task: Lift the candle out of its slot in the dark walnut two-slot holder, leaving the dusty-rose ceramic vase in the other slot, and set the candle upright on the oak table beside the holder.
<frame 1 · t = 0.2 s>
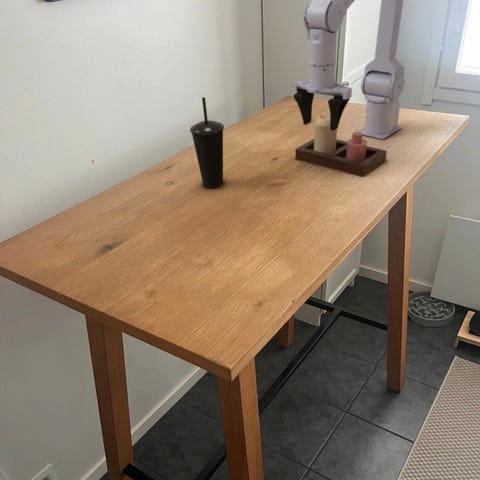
hand: (320, 126, 118), 10 cm above the table, tool pointing down, fingers open, 7 cm apart
drinking cup: (213, 184, 122), on the table
candle: (324, 156, 130), resting in holder
holder: (339, 159, 127), on the table
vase: (355, 163, 125), resting in holder
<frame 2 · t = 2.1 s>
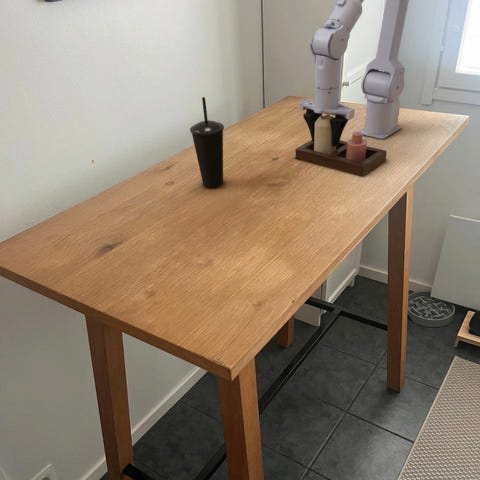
hand: (325, 142, 128), 3 cm above the table, tool pointing down, fingers closed on candle, 5 cm apart
candle: (324, 156, 130), resting in holder, touching gripper
everything else where it was.
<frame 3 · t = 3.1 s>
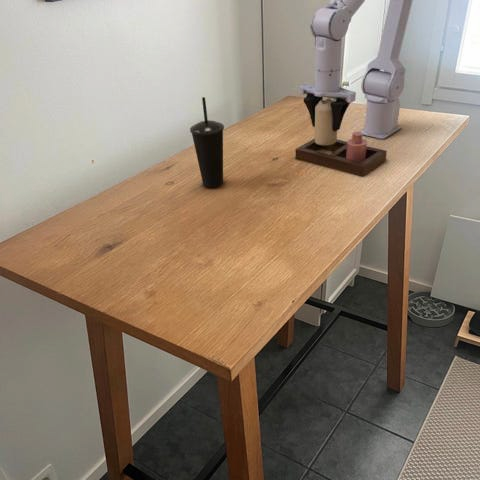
hand: (325, 127, 125), 7 cm above the table, tool pointing down, fingers closed on candle, 5 cm apart
candle: (325, 142, 127), point 4 cm above the table, touching gripper
everything else where it was.
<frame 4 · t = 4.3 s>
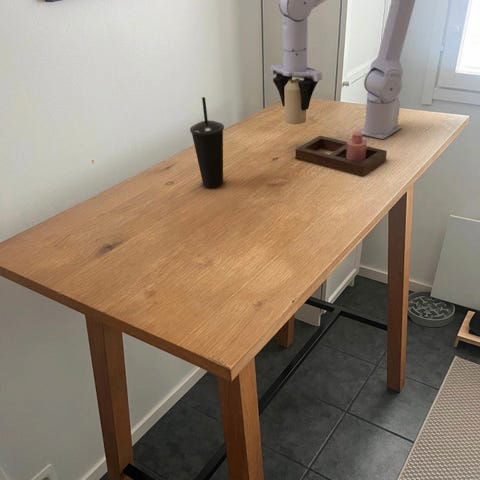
hand: (295, 107, 129), 10 cm above the table, tool pointing down, fingers closed on candle, 5 cm apart
candle: (295, 121, 131), point 7 cm above the table, touching gripper
everything else where it was.
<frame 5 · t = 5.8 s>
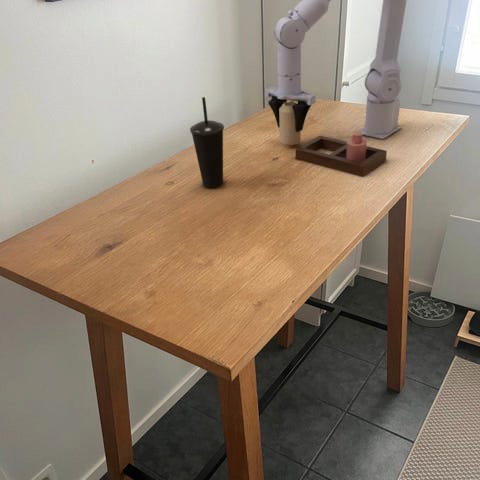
hand: (290, 128, 134), 5 cm above the table, tool pointing down, fingers closed on candle, 5 cm apart
candle: (290, 141, 136), point 1 cm above the table, touching gripper
everything else where it was.
when the fingers open (3 cm above the table, at t = 6.7 s): candle stays where it is, on the table.
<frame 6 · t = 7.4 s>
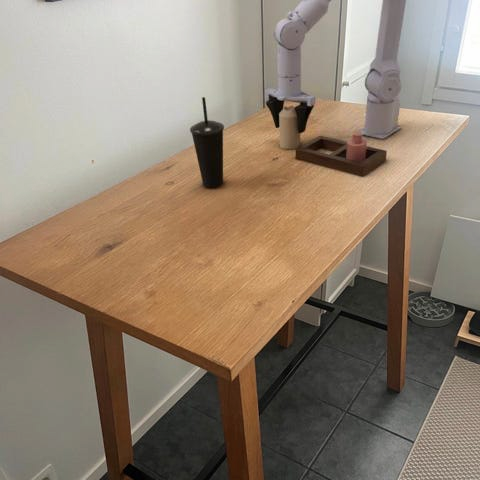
hand: (290, 129, 134), 4 cm above the table, tool pointing down, fingers open, 7 cm apart
candle: (290, 146, 137), on the table
everything else where it was.
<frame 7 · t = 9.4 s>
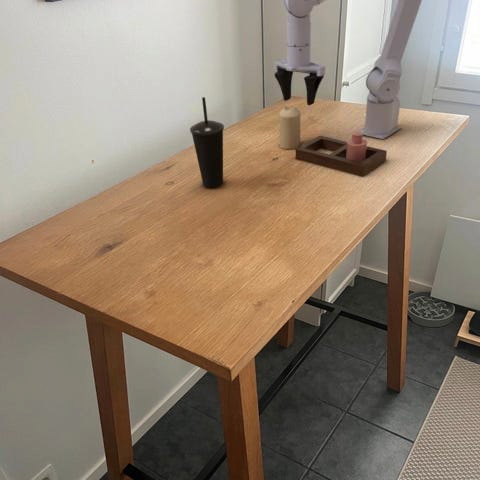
hand: (298, 101, 132), 10 cm above the table, tool pointing down, fingers open, 7 cm apart
nothing on the table moved.
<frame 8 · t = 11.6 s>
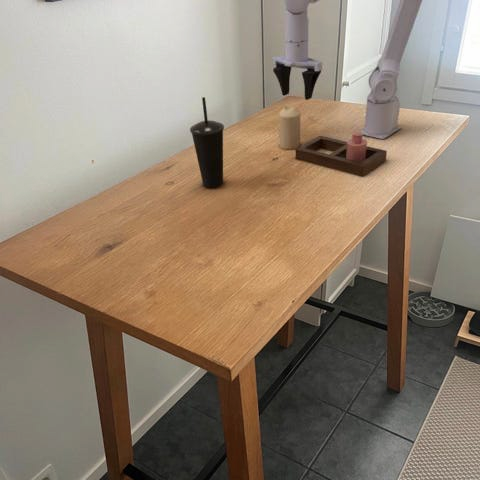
hand: (296, 96, 136), 10 cm above the table, tool pointing down, fingers open, 7 cm apart
nothing on the table moved.
at the end: candle inside the target area (0.1 cm from its centre), on the table; candle tilted 0°; the gripper is holding nothing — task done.
